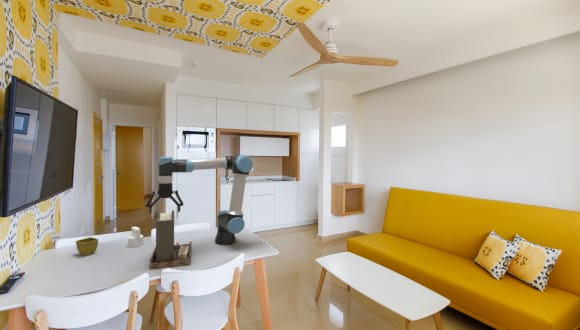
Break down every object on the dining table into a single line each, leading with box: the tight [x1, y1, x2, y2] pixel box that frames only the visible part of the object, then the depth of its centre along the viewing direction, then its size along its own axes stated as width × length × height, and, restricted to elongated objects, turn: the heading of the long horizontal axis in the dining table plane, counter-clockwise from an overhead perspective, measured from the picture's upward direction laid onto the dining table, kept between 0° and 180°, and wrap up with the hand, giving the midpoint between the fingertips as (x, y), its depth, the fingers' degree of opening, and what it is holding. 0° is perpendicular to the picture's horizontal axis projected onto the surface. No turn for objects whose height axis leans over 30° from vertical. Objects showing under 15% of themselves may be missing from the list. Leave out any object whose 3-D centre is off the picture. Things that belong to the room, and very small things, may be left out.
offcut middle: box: [177, 254, 189, 261], centre depth 165 cm, size 5×16×2 cm, turn 18°
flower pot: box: [75, 236, 99, 256], centre depth 168 cm, size 9×9×9 cm
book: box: [155, 210, 175, 263], centre depth 161 cm, size 22×9×28 cm, turn 23°
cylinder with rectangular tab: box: [127, 226, 144, 248], centre depth 186 cm, size 9×9×12 cm
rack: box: [149, 241, 192, 270], centre depth 163 cm, size 21×28×6 cm
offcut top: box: [177, 245, 189, 260], centre depth 165 cm, size 5×16×2 cm, turn 16°
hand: (165, 217), depth 161 cm, fingers open, 13 cm apart
